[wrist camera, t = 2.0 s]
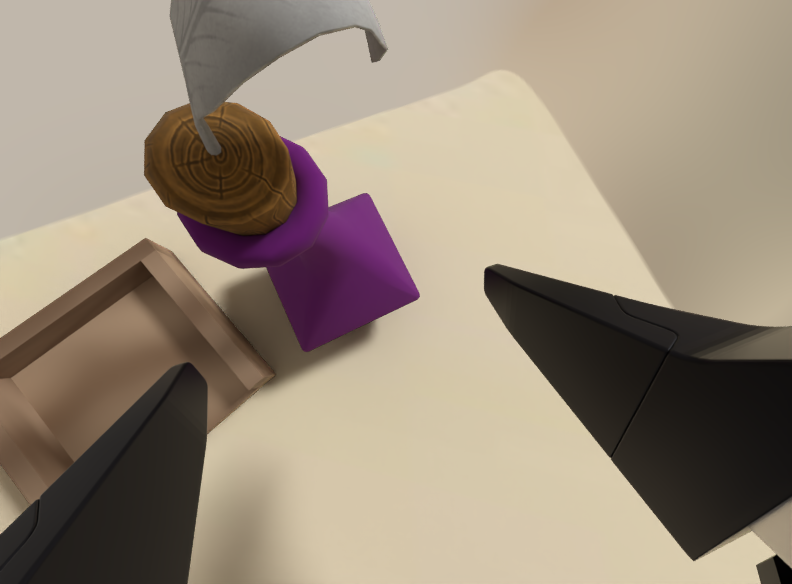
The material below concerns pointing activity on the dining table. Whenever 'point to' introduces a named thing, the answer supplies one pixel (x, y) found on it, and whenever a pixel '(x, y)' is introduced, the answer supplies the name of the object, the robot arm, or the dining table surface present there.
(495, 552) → the dining table surface
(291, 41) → the perfume bottle
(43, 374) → the wooden tray
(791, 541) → the robot arm
